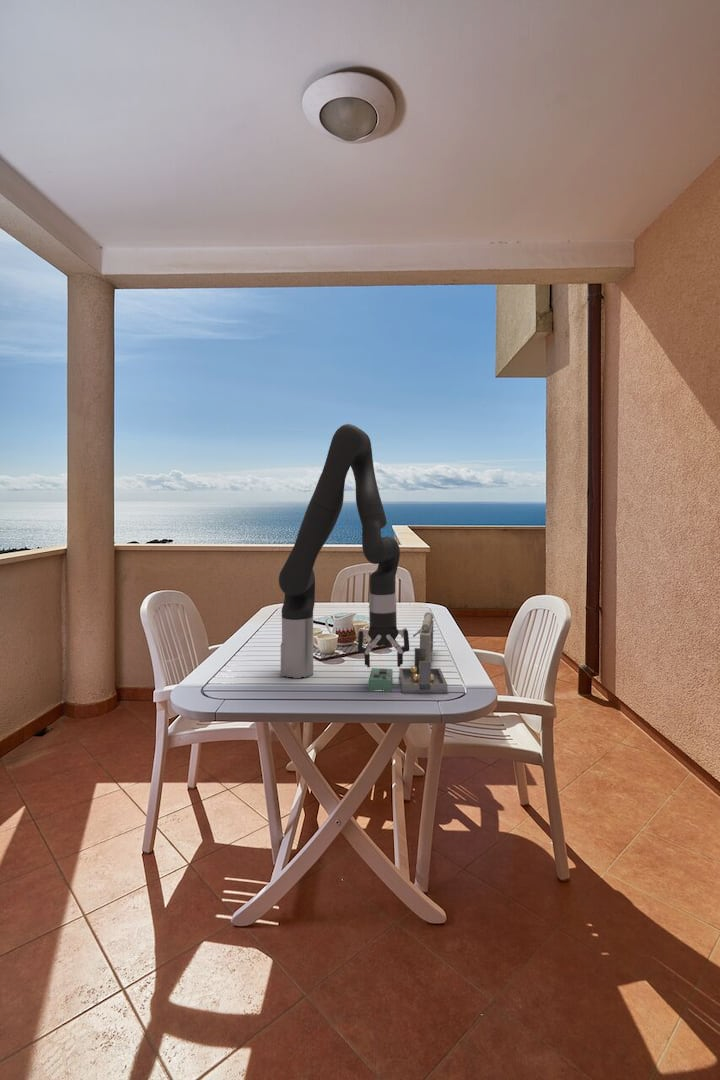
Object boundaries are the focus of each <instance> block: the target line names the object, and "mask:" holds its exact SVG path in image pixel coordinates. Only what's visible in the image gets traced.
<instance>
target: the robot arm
mask: <svg viewBox="0 0 720 1080" xmlns="http://www.w3.org/2000/svg"><path fill="white" fill-rule="evenodd" d="M372 449H373V448H372V443H371V438H370V437H369V435H368V434H367V432H365V431H363V430H362V429H361V428H359V427H357V426H356V425H354V424H350V423H346V424H343V425H341V426H339V428H337V429H336V431H335V432H334V434H333V436H332V438H331V442H330V445H329V448H328V451H327V455H326V459H325V463H324V465H323V469H322V470H321V474H320V477H319V479H318V480H317V484H316V486H315V489H314V492H313V494H312V496H311V499H310V501H309V503H308V505H307V508H306V510H305V513H304V516H303V519H302V521H301V523H300V526H299V527H300V528H299V529H298V533H297V537H296V540H295V542H294V545H293V547H292V549H291V551H290V553H289V555H288V557H287V558H286V561H285V563H284V564H283V567H282V569H281V570H280V572H279V575H278V585H279V588H280V590H281V592H283V593H284V600H283V604H282V607H281V644H280V677H285V676H286V677H285V678H288V677H293V678H292V679H302V678H301V677H304V678H307V676H308V677H310V676H312V675H313V674H314V608H315V602H316V597H315V596H316V577H315V571H314V567H315V563H316V560H317V557H318V555H319V553H320V551H321V550H322V548H323V547H324V545H325V543H326V542H327V541H328V539H329V538H330V535H331V534H332V532H333V530H334V528H335V526H336V524H337V521H338V519H339V518H340V514H341V511H342V509H343V505H344V495H345V484H346V478H347V476H348V472H349V470H350V468H351V472H353V477H354V483H355V503H356V509H357V513H358V515H359V520H360V523H361V527H362V528H361V538H362V539H361V541H362V542H361V544H362V545H361V548H362V553H363V555H364V557H365V559H366V560H367V561H368V562H369V563H370V564H373V565H377V568H376V570H375V571H374V572H372V573H371V574H370V576H369V599H368V610H369V611H368V612H369V613H368V614H369V616H368V617H369V618H368V619H369V629H368V630H363V629H361V628H359V629H358V633H357V634H358V639H357V652H358V653H362V654H364V665H365V666H366V667H367V668H370V667H371V660H370V658H371V657H370V656H371V655H370V653H371V651H372V650H373V649H374V648H375V646H378V647H381V646H382V647H383V646H386V647H389V646H391V645H392V647H394V649H395V650H396V654H397V655H396V661H397V663H396V664H397V667H398V668H401V665H403V663H404V653H406V652H409V651H410V640H409V639H410V638H409V630H408V629H407V627H405V628H403V629H398V627H397V624H398V623H397V622H398V621H397V596H396V580H395V579H396V575H397V571H398V568H399V567H398V566H399V561H400V558H401V557H400V555H401V550H400V545H399V543H398V541H397V540H396V538H394V537H391V536H384V537H383V536H382V529H384V528H385V527H386V526H387V523H388V522H387V517H386V513H385V509H384V505H383V503H382V499H381V495H380V493H379V492H380V491H379V488H378V484H377V479H376V474H375V467H374V459H373V450H372ZM399 635H400V637H401V638H402V639H403V646H401V645H400V643H399V642H398V641H397V640H396V638H397V637H398V636H399ZM367 636H368V637H369V638H370V640H369V642H368V643H367V645H366V647H363V646H364V645H363V644H364V643H363V642H364V639H366V638H367Z"/></svg>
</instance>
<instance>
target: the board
mask: <svg viewBox="0 0 720 1080" xmlns="http://www.w3.org/2000/svg"><path fill="white" fill-rule="evenodd" d="M393 670H394V669H393V668H380V667H379V668H377V667H372V668H371V669H370V673H369V678H368V692H375V691H374V690H382V691H383V690H384V691H390V690H391V691H392V687H391V684H392V685H393ZM371 690H373V691H371Z"/></svg>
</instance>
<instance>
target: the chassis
mask: <svg viewBox="0 0 720 1080" xmlns="http://www.w3.org/2000/svg"><path fill="white" fill-rule="evenodd" d="M399 677H400V679H399V683H400V682H401V684H400V687H401V686H402V689H401V693H402V694H433V695H434V694H437V695H438V694H439V695H440V694H443V695H444V694H447V695H448V681H447V680H446V678H445V676H444V674H443V672H442V669H441V668H438V667H437V668H436V667H434V668H433V667H432V662H430V661H425V648H420V647H415V648H414V665H412V666H411V667H407V668H406V667H404V668H403V667H398V678H399Z"/></svg>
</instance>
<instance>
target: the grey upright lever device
mask: <svg viewBox="0 0 720 1080" xmlns="http://www.w3.org/2000/svg"><path fill="white" fill-rule="evenodd" d="M433 618H434V613H433V612H432V611H426V612H425V613H424V616H423V620H422V625H421V628H420V629H419V630H418V631H417V632H416V633H414V634H413V635H412V637H413V638H415V637H416V636H417V635H418V634H419V648H425V661H430V662H431V663H433V661H432V660H434V659H435V658H434V657H433V654H434V655H435V652H434V644H436V642H434V633H435V632H436V630H434V619H433Z"/></svg>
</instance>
